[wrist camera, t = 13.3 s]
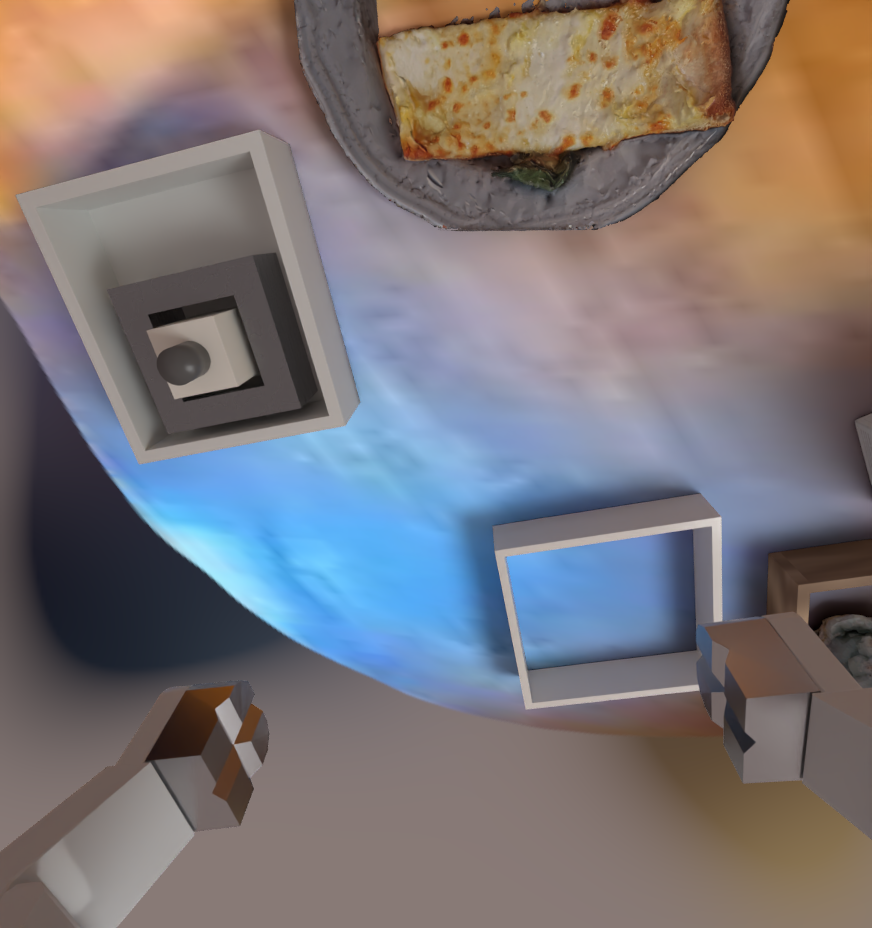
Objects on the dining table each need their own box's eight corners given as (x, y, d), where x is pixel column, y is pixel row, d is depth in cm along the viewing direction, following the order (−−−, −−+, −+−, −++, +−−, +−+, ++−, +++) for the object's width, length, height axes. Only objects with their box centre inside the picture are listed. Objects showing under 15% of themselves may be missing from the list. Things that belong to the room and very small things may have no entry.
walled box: (77, 200, 34) (15, 195, 29) (289, 144, 32) (259, 129, 27) (177, 437, 40) (139, 464, 35) (360, 402, 38) (345, 425, 33)
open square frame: (492, 525, 41) (494, 550, 38) (700, 493, 39) (721, 516, 36) (521, 676, 47) (525, 709, 44) (704, 654, 45) (722, 687, 42)
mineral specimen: (795, 585, 48) (839, 685, 48) (751, 636, 43) (800, 744, 44) (934, 587, 39) (986, 708, 40) (896, 651, 35) (954, 785, 36)
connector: (196, 315, 35) (125, 337, 28) (253, 302, 35) (196, 321, 27) (218, 374, 37) (156, 409, 30) (273, 362, 36) (223, 396, 29)
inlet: (144, 283, 35) (106, 289, 31) (275, 252, 34) (252, 255, 30) (197, 414, 38) (168, 434, 34) (317, 390, 37) (301, 408, 33)
